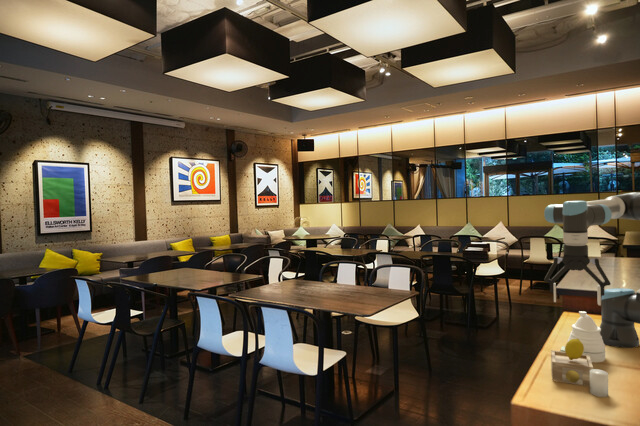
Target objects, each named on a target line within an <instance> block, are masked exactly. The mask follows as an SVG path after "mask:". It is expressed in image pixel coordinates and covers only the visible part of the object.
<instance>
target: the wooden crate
mask: <svg viewBox="0 0 640 426" xmlns="http://www.w3.org/2000/svg"><path fill="white" fill-rule="evenodd" d="M550 353H551V356H550V357H551V358H550V359H551V360H550V361H551V363H550V367H551V378H552V380H555V381H554V382H558V381H561V382H560V383H565V382H566V383H565V384H572V385H579V386H585V387H590V370H591V369H594V366H593V362H591V359H590V356H589V355H585V354H582V356H581V357H580V358H578V359H573V360H570V359H569V357H568V356H567V355H566V353H565V352H561V351H559V350H553V349H552V350H551V351H550ZM552 380H551V381H552Z"/></svg>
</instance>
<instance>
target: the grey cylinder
mask: <svg viewBox="0 0 640 426" xmlns="http://www.w3.org/2000/svg"><path fill="white" fill-rule="evenodd" d="M589 393H590V394H591V395H593V396H595V397H598V398H607V397H608V396H609V373H608V371H605V370H602V369H598V368H596V369H595V368H593V369H591V370H590V386H589Z"/></svg>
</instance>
